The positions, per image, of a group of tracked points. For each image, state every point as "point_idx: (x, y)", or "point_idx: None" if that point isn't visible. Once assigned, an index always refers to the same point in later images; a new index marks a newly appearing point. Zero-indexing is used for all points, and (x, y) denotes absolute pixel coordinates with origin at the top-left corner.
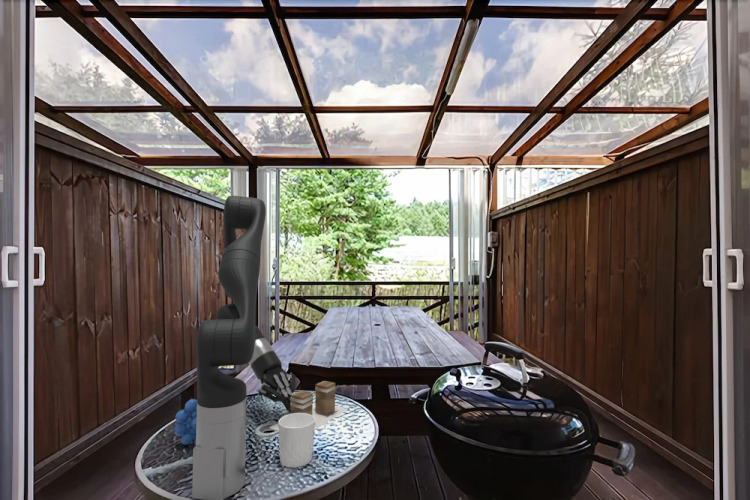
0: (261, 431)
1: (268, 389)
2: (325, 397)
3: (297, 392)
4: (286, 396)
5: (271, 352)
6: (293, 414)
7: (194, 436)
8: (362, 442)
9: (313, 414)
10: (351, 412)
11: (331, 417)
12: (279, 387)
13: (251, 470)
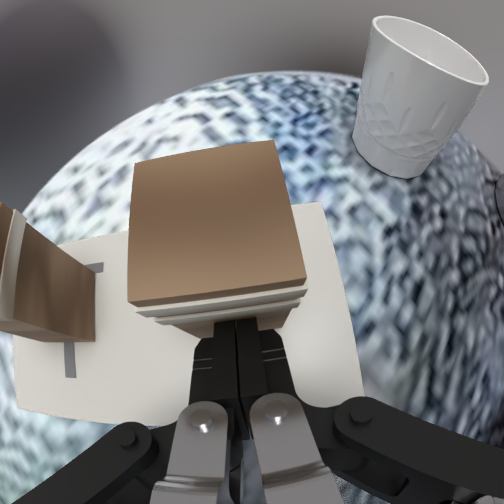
0: None
1: (495, 458)
2: (42, 243)
3: (197, 287)
4: (277, 397)
5: None
6: (433, 66)
7: None
8: (179, 107)
9: (110, 339)
10: None
11: (97, 247)
12: (339, 498)
13: (480, 215)
